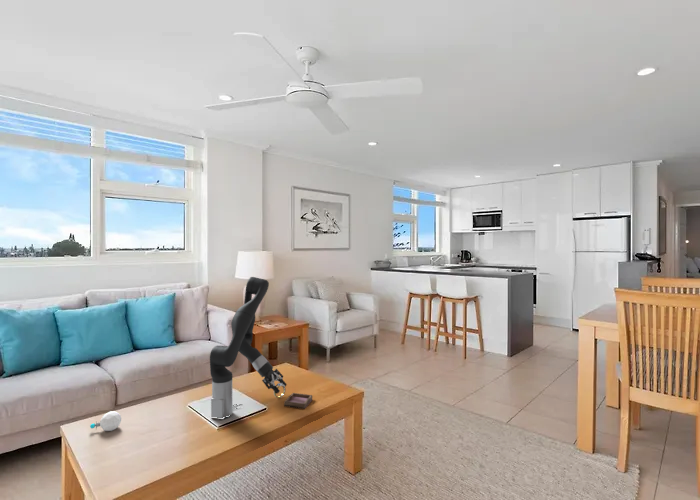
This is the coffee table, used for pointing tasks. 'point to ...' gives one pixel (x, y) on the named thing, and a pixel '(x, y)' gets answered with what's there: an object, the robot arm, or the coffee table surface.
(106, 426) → the perfume bottle
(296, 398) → the jewellery tray
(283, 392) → the ring
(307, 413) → the coffee table surface
